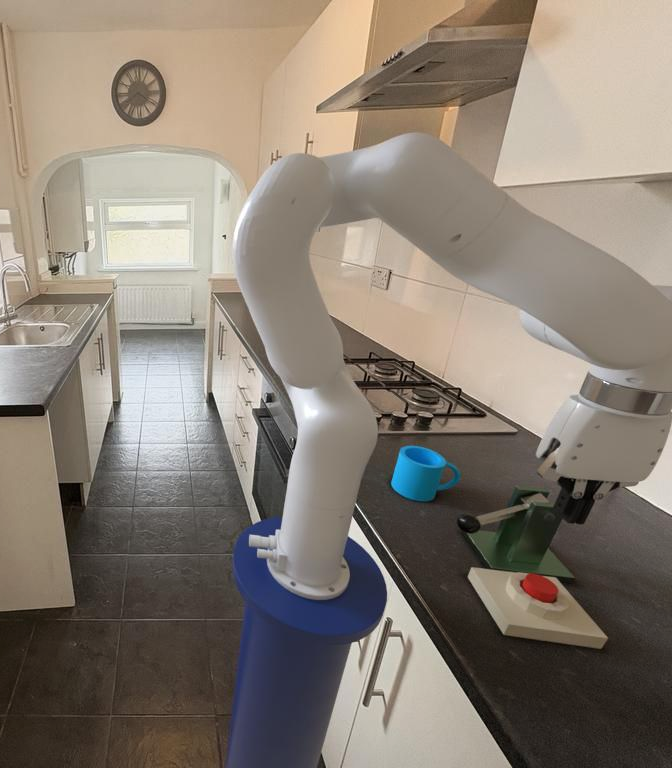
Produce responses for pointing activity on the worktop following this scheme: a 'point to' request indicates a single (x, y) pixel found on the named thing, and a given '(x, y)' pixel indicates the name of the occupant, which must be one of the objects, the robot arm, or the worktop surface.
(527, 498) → the lever
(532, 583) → the button
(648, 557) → the worktop surface
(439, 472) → the mug
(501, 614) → the button block
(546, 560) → the bracket
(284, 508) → the robot arm
